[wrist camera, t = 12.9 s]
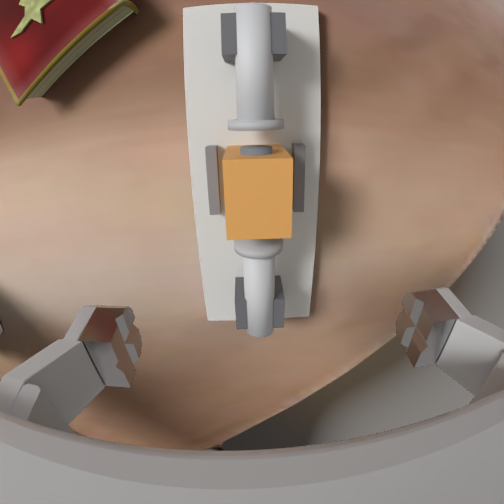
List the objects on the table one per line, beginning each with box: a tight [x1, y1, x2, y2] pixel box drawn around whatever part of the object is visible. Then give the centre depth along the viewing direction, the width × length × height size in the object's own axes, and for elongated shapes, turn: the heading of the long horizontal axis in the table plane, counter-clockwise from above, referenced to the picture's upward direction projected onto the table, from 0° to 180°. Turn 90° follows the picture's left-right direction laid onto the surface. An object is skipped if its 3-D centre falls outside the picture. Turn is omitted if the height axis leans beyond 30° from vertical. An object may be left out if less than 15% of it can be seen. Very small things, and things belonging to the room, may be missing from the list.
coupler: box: [222, 144, 293, 240], centre depth 20 cm, size 6×4×6 cm
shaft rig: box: [183, 3, 321, 337], centre depth 21 cm, size 28×10×6 cm, turn 2°
